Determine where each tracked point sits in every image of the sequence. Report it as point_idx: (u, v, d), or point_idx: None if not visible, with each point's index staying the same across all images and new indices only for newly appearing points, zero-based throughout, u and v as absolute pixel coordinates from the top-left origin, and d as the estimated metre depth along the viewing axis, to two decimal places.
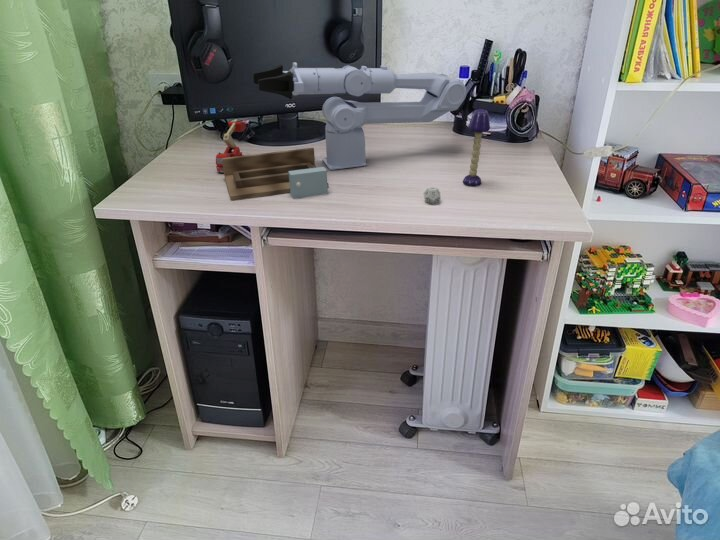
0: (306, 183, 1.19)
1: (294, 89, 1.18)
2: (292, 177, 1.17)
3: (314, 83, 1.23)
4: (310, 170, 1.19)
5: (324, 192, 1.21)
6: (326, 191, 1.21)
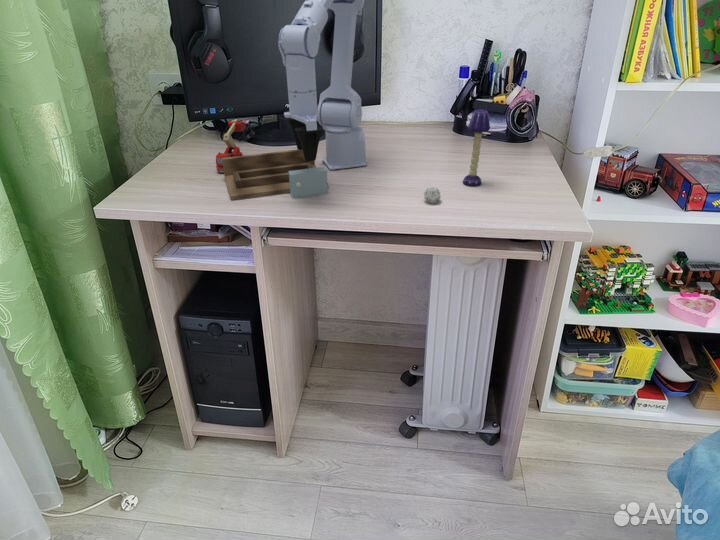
0: (306, 183, 1.19)
1: None
2: (292, 177, 1.17)
3: (305, 96, 1.08)
4: (310, 170, 1.19)
5: (324, 192, 1.21)
6: (326, 191, 1.21)
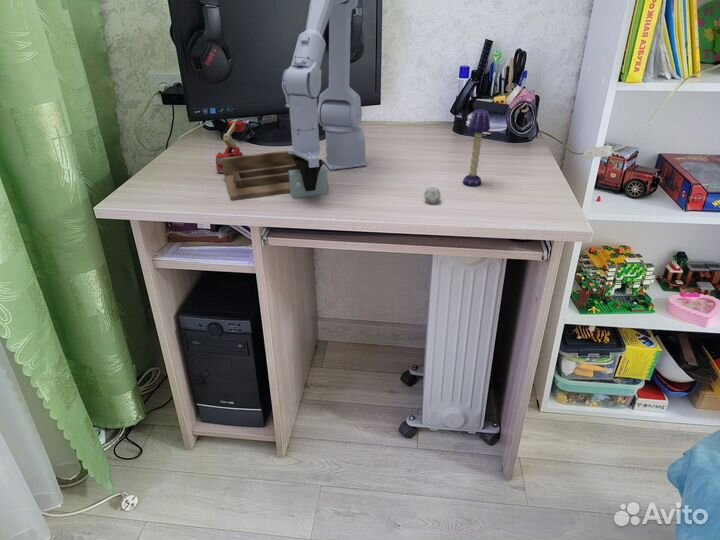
0: None
1: None
2: (292, 177, 1.17)
3: (307, 134, 1.12)
4: None
5: (324, 192, 1.21)
6: (326, 190, 1.21)
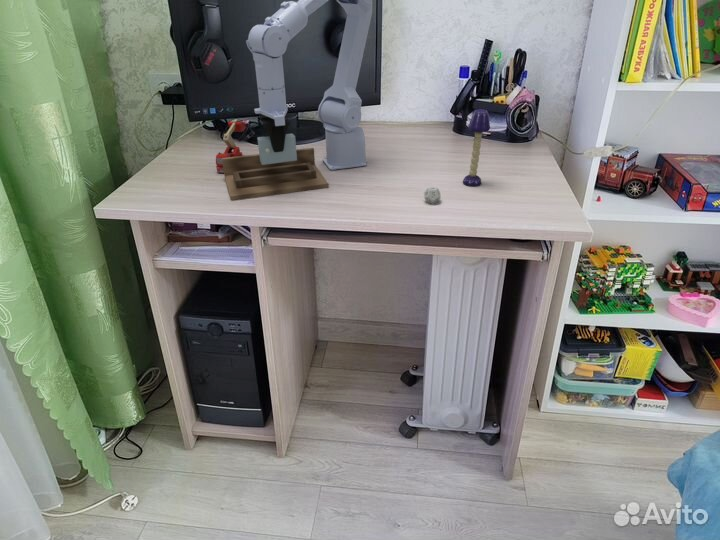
0: None
1: None
2: (261, 143, 1.19)
3: (274, 93, 1.13)
4: None
5: (293, 158, 1.23)
6: (295, 157, 1.23)
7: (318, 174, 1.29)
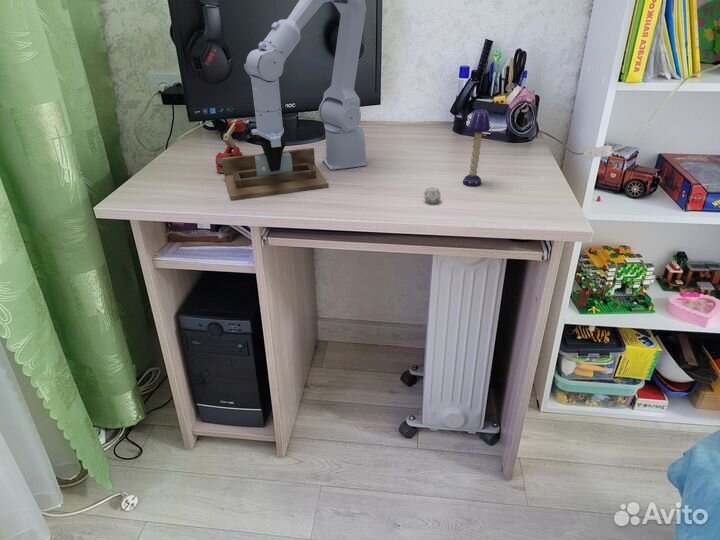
0: None
1: None
2: (257, 162, 1.22)
3: (270, 115, 1.17)
4: None
5: None
6: None
7: (318, 174, 1.29)
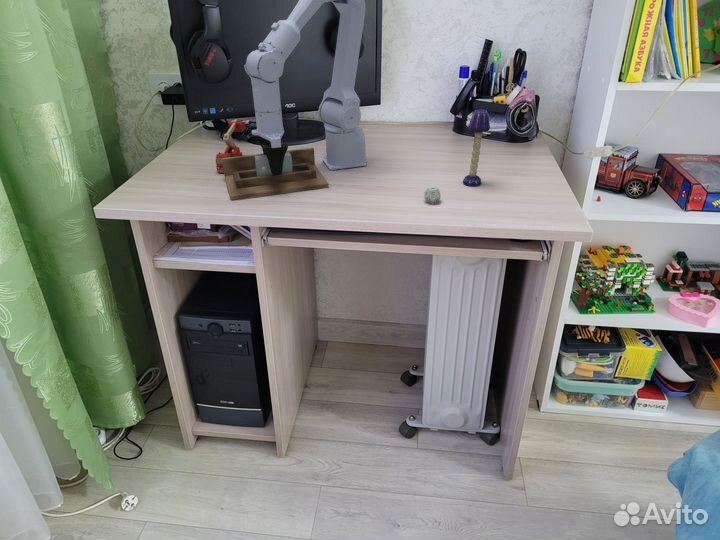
0: None
1: (278, 146, 1.17)
2: (257, 162, 1.22)
3: (270, 116, 1.17)
4: None
5: None
6: None
7: (318, 174, 1.29)
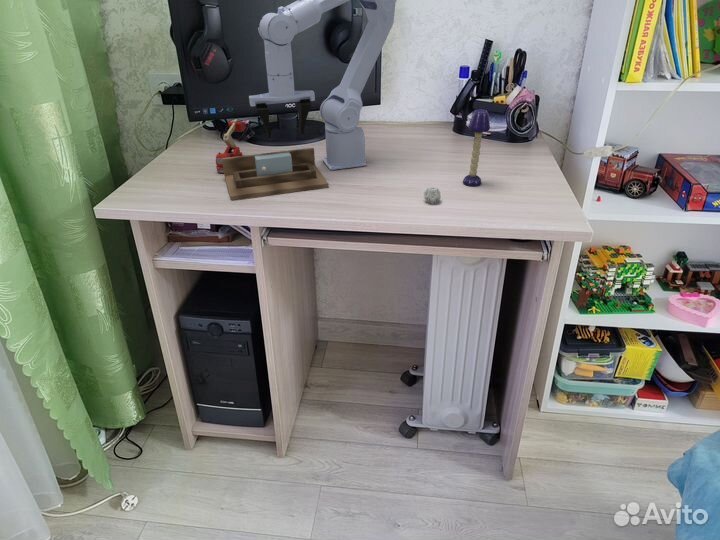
0: (272, 168, 1.24)
1: None
2: (257, 162, 1.22)
3: None
4: (275, 155, 1.24)
5: None
6: None
7: (318, 174, 1.29)
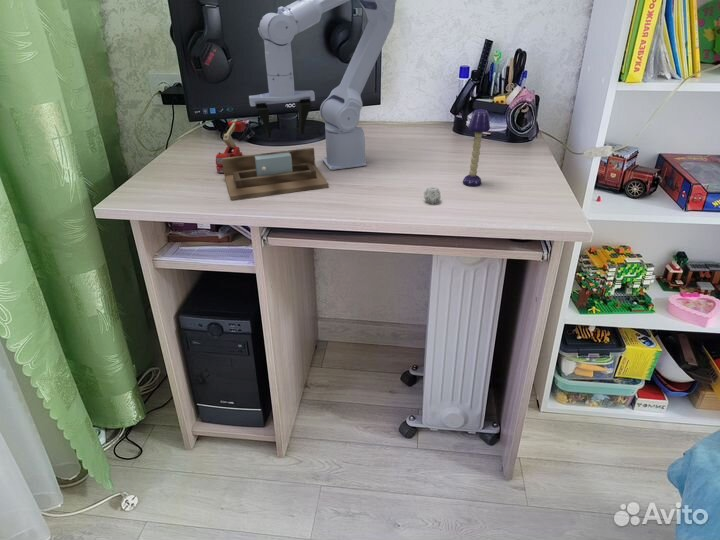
0: (272, 168, 1.24)
1: None
2: (257, 162, 1.22)
3: None
4: (275, 155, 1.24)
5: None
6: None
7: (318, 174, 1.29)
